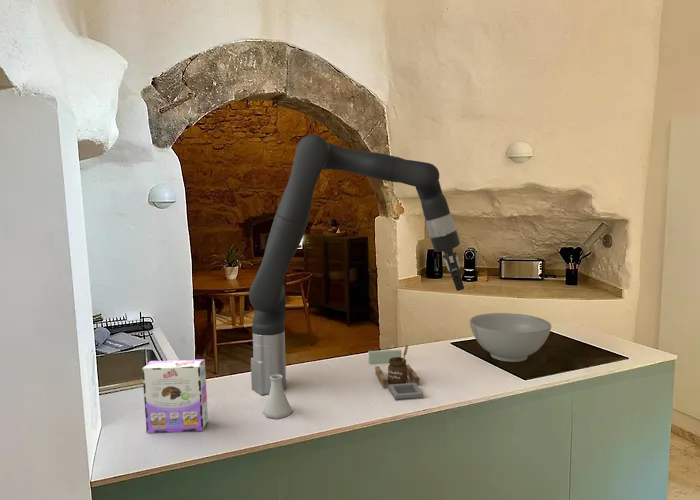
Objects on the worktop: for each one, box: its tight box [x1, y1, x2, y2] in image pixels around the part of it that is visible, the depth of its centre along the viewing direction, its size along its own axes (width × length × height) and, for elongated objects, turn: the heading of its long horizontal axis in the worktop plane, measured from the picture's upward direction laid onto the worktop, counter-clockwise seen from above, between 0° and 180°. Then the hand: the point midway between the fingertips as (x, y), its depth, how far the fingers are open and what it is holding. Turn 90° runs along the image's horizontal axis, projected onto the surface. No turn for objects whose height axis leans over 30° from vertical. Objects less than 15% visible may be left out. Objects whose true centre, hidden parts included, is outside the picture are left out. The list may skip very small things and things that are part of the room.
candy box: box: [141, 358, 209, 434], centre depth 124 cm, size 14×6×16 cm, turn 92°
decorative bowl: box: [469, 312, 552, 363], centre depth 175 cm, size 27×27×12 cm
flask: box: [262, 374, 293, 420], centre depth 132 cm, size 7×7×10 cm
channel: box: [374, 363, 420, 389], centre depth 155 cm, size 12×11×2 cm
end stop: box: [367, 348, 402, 365], centre depth 170 cm, size 2×11×4 cm, turn 98°
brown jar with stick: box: [387, 344, 409, 385], centre depth 152 cm, size 6×6×12 cm
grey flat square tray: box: [388, 382, 424, 401], centre depth 144 cm, size 8×8×1 cm
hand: (459, 286), depth 144 cm, fingers open, 8 cm apart
